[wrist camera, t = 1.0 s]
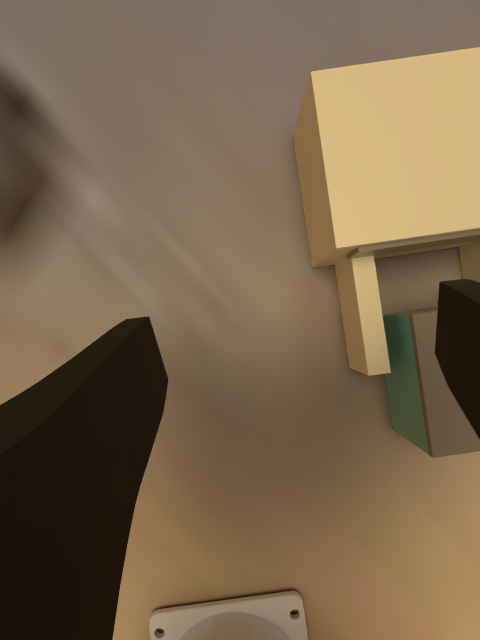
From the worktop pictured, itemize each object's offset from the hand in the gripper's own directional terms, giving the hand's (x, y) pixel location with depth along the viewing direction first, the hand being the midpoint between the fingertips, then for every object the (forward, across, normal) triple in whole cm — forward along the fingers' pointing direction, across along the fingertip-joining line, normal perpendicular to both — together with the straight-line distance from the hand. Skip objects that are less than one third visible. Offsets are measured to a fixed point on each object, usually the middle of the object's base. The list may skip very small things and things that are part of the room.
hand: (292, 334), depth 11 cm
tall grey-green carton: (+10, -6, +9) cm, 15 cm away
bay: (+13, -6, +3) cm, 15 cm away
